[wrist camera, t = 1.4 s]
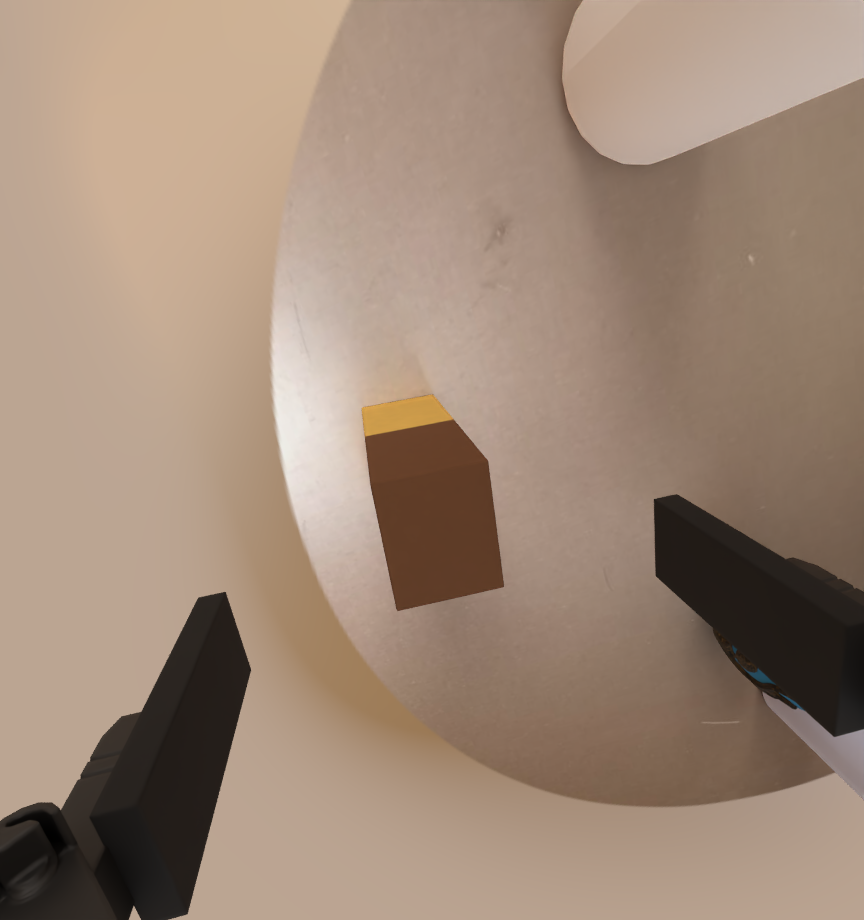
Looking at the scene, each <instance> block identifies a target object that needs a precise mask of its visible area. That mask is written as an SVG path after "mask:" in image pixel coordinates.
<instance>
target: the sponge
mask: <svg viewBox="0 0 864 920" xmlns="http://www.w3.org/2000/svg"><path fill="white" fill-rule="evenodd" d="M362 416H363V425H364V433H365V442H366V451H367V459H368V468H369V476H370V485H371V490H372V495H373V499H374V504H375V509H376V514H377V518H378V523H379V528H380V533H381V537H382V542H383V547H384V552H385V556H386V561H387V566H388V571H389V576H390V580H391V585H392V590H393V595H394V599H395V604H396V609H397V611H400V610H404V609H409V608H413V607H418V606H422V605H426V604H431V603H435V602H440V601H444V600H449V599H453V598H457V597H462V596H466V595H471V594H475V593H480V592H484V591H488V590H493V589H497V588H502V587H504V582H503V575H502V567H501V559H500V551H499V543H498V535H497V528H496V520H495V512H494V504H493V496H492V488H491V481H490V473H489V465H488V460H487V459H486V458H485V457H484V455H483V454H482V453H481V452H480V451H479V449H478V448H477V447H476V446H475V445H474V443H473V442H472V441H471V440H470V439H469V437H468V436H467V435H466V434H465V433H464V431H463V430H462V429H461V428H460V427H459V425H458V424H457V423H456V422H455V421H454V419H453V418H452V417H451V416H450V414H449V413H448V412H447V411H446V410H445V408H444V407H443V406H442V405H441V404H440V402H439V401H438V400H437V399H436V398H435V396H434V395H427V396H422V397H416V398H411V399H406V400H400V401H395V402H390V403H384V404H379V405H373V406H368V407H363V408H362Z"/></svg>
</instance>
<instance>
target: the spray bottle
mask: <svg viewBox="0 0 864 920" xmlns="http://www.w3.org/2000/svg"><path fill="white" fill-rule="evenodd" d="M762 692H763V691H762ZM763 697H764V700H765V702H766V703H767V705H768V706H769V707H770V708H771V709H772V710H773V711H774V712H775V713H776V714H777V715H778V716H779V717H780V718H781V719H782V720H783V721H784V722H785V723H786V724H787V725H788V726H789V727H790V728H791V729H792V730H793V731H794V732H795V733H796V734H797V735H798V736H799V737H800V738H801V739H802V740H803V741H804V742H805V743H806V744H807V745H808V746H809V747H810V748H811V749H812V750H813V751H814V752H815V753H816V754H817V755H818V756H819V757H820V758H821V759H823V760H824V761H825V762H826V763H827V764H828V765H829V766H830V767H831V768H832V769H833V770H834V771H835V772H836V773H837V774H838V775H839V776H840V777H841V778H842V779H843V780H844V781H845V782H846V783H847V784H848V785H849V786H850V787H851V788H852V789H853V790H854V791H855V792H856V793H857V794H858V795H859V796H860V797H861V798H862V799H863V800H864V729H863V730H859V731H856V732H852V733H848V734H845V735H841V736H837V737H833V736H832V735H831V734H830V733H829V732H828V731H827V730H825V729H824V728H823V727H822V726H821V725H820V724H819V723H818V722H817V721H816V720H814V719H813V718H812V717H811V716H810V715H809V714H808V713H807V712H806V711H804V710H801V709H799V708H797V709H796V710H794V709H792V708H790V707H789V706H787V705H786V704H784V703H783V702H782V701H780V700H779V699H774V698H772V697H770V696H768V695H767V694H766V693H764V692H763Z"/></svg>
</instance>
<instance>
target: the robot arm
mask: <svg viewBox="0 0 864 920" xmlns="http://www.w3.org/2000/svg"><path fill="white" fill-rule="evenodd" d="M654 523H655V568H656V577H657V578H659V579H660V580H661V581H662V582H663V583H664V584H665V585H666V586H667V587H668V588H670V589H671V590H672V591H673V592H674V593H675V594H676V595H677V596H678V597H680V598H681V599H682V600H683V601H684V602H685V603H686V604H687V605H688V606H689V607H691V608H692V609H693V610H694V611H695V612H696V613H697V614H698V615H699V616H701V617H702V618H703V619H704V620H705V621H706V622H707V623H708V624H709V625H710V626H712V627H713V628H714V629H715V630H716V631H717V632H718V633H719V634H720V635H722V636H723V637H724V638H725V639H726V640H727V641H728V642H729V643H730V644H732V645H733V646H734V647H735V648H736V649H737V650H738V651H739V652H740V653H741V654H743V655H744V656H745V657H746V658H747V659H748V660H749V661H750V662H751V663H753V664H754V665H755V666H756V667H757V668H758V669H759V670H760V671H761V672H762V673H764V674H765V675H766V676H767V677H768V678H769V679H770V680H771V681H772V682H774V683H775V684H776V685H777V686H778V687H779V688H780V689H781V690H782V691H783V692H785V693H786V694H787V695H788V696H789V697H790V698H791V699H792V700H793V701H795V702H796V703H797V704H798V705H799V706H800V707H801V708H802V709H803V710H804V711H806V712H807V713H808V714H809V715H810V716H811V717H812V718H813V719H814V720H816V721H817V722H818V723H819V724H820V725H821V726H822V727H823V728H824V729H825V730H827V731H828V732H829V733H830V734H831V735H832V736H833V737H837V736H841V735H845V734H848V733H852V732H856V731H859V730H863V729H864V592H863V591H861V590H859V589H857V588H856V589H854V588H853V586H852V585H850V584H849V583H847V582H845V581H843V580H842V579H837V577H836V576H835V575H833V574H831V573H829V572H828V571H826V570H824V569H822V568H821V567H819V566H817V565H814V564H811V563H808V562H805V561H802V560H799V559H796V558H789V559H784V558H783V557H781V556H779V555H778V554H776V553H774V552H773V551H771V550H769V549H768V548H766V547H764V546H763V545H761V544H759V543H758V542H756V541H754V540H753V539H751V538H749V537H748V536H746V535H744V534H743V533H741V532H739V531H738V530H736V529H734V528H733V527H731V526H729V525H728V524H726V523H724V522H723V521H721V520H719V519H718V518H716V517H714V516H713V515H711V514H709V513H707V512H706V511H704V510H702V509H701V508H699V507H697V506H696V505H694V504H692V503H691V502H689V501H687V500H686V499H684V498H682V497H681V496H679V495H677V494H676V495H671V496H666V497H662V498H657V499H654ZM250 672H251V668H250V665H249V662H248V659H247V656H246V653H245V650H244V647H243V643H242V640H241V638H240V635H239V631H238V628H237V626H236V623H235V619H234V616H233V613H232V610H231V607H230V604H229V601H228V598H227V595H226V592H223V593H218V594H214V595H209V596H204V597H199V598H198V599H197V601H196V603H195V605H194V607H193V609H192V612H191V614H190V615H189V617H188V619H187V621H186V624H185V625H184V627H183V630H182V631H181V633H180V636H179V637H178V639H177V641H176V644H175V645H174V648H173V650H172V651H171V654H170V656H169V658H168V660H167V662H166V664H165V666H164V668H163V670H162V672H161V674H160V676H159V678H158V680H157V682H156V684H155V686H154V688H153V690H152V692H151V694H150V696H149V698H148V700H147V702H146V704H145V706H144V708H143V710H142V712H139V713H135V714H130V715H126V716H122V717H121V718H120V719H119V720H118V721H117V722H116V723H115V724H114V725H113V726H112V727H111V728H110V729H109V730H108V731H107V732H106V733H105V734H104V735H103V736H102V738H101V740H100V742H99V743H98V745H97V747H96V748H95V750H94V752H93V754H92V756H91V757H90V762H88V763H87V765H86V766H85V768H84V770H83V772H82V774H81V779H80V780H78V781H77V782H76V784H75V786H74V788H73V790H72V791H71V793H70V795H69V797H68V799H67V800H66V802H65V804H64V806H63V808H62V809H61V810H60V809H59V808H58V807H57V806H56V805H54V804H53V803H36V804H33V805H30V806H27V807H24V808H21V809H19V810H18V811H16V812H14V813H12V814H11V815H9V816H7V817H5V818H4V819H2V820H1V821H0V920H129V917H130V914H131V911H132V908H133V906H135V908H136V910H137V912H138V914H139V916H140V918H141V920H168V919H172V918H176V917H179V916H183V915H186V914H188V910H189V906H190V903H191V899H192V895H193V891H194V887H195V883H196V879H197V876H198V872H199V868H200V864H201V860H202V857H203V852H204V849H205V845H206V841H207V837H208V833H209V830H210V826H211V822H212V818H213V814H214V810H215V807H216V803H217V798H218V795H219V791H220V787H221V783H222V780H223V775H224V771H225V768H226V764H227V760H228V757H229V752H230V749H231V745H232V741H233V737H234V733H235V729H236V726H237V722H238V718H239V714H240V710H241V707H242V703H243V699H244V695H245V691H246V687H247V683H248V680H249V676H250Z"/></svg>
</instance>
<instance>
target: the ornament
mask: <svg viewBox="0 0 864 920" xmlns="http://www.w3.org/2000/svg"><path fill="white" fill-rule="evenodd" d="M713 632H714V635H715V637H716V639H717V640H718V642H719V644H720V646H721V647H722V649H723V650H724V652H725V653H726V655H727V656H728V658H729V659H730V660H731V661H732V663H733V664H734V665H735V666H736V667H737V669H738V670H739V671H740V672H741V673H742V674H743V675H744V676H745V677H747V678H748V679H749V680H750V681H751V682H752V683H753V684H754V685H755V686H756V687H758V688H759V689H760V690H761V691H763V692H764V693H766V694H767V695H768V696H770V697H772V698H774V699H779V700H780V701H782V702H783V703H784V704H786V705H787V706H789V707H790V708H792V709H794V710H796V709H797V708H799V709H801V710H803V709H802V708H801V707H800V706H799V705H798V704H797V703H796V702H795V701H793V700H792V699H791V698H790V697H789V696H788V695H787V694H786V693H785V692H783V691H782V690H781V689H780V688H779V687H778V686H777V685H776V684H775V683H774V682H772V681H771V680H770V679H769V678H768V677H767V676H766V675H765V674H764V673H762V672H761V671H760V670H759V669H758V668H757V667H756V666H755V665H754V664H753V663H751V662H750V661H749V660H748V659H747V658H746V657H745V656H744V655H743V654H741V653H740V652H739V651H738V650H737V649H736V648H735V647H734V646H733V645H732V644H730V643H729V642H728V641H727V640H726V639H725V638H724V637H723V636H722V635H720V634H719V633H718V632H717V631H716V630H715V629H714V628H713Z"/></svg>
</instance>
